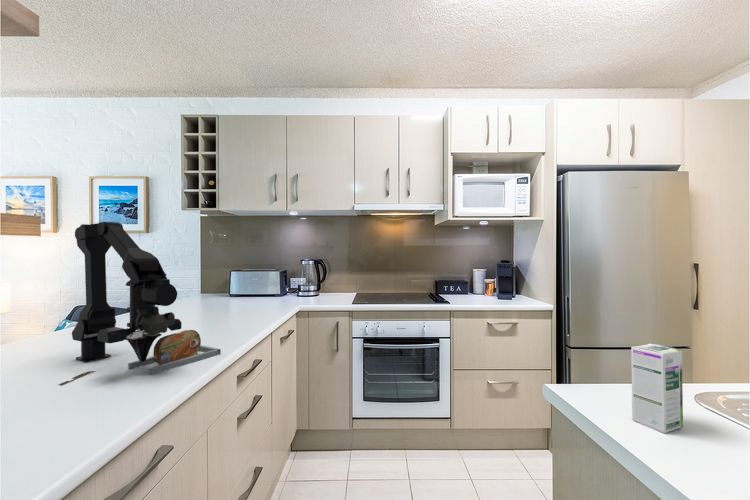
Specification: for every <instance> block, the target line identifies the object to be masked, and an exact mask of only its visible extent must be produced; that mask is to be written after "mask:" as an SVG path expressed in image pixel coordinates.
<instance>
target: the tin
mask: <svg viewBox="0 0 750 500" xmlns="http://www.w3.org/2000/svg"><path fill="white" fill-rule="evenodd" d="M200 335H201V334H199V332H198V331H197V330H195V329H184V330H182V331H178V332H175V333H172V334H167V335H164V336H162V337H160V338H159V339H158V340H157V341H156V343H155V344H154V346H153V351H152V352H153V357H154V360H155V362H156V364H157V365H158V366H159V365H162V364H166V363H169V362H173V361H176V360H180V359H183V358H187V357H190V356H194V355H198V353H199V352H200V351H199V349H200V345H202V340H201V336H200Z"/></svg>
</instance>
